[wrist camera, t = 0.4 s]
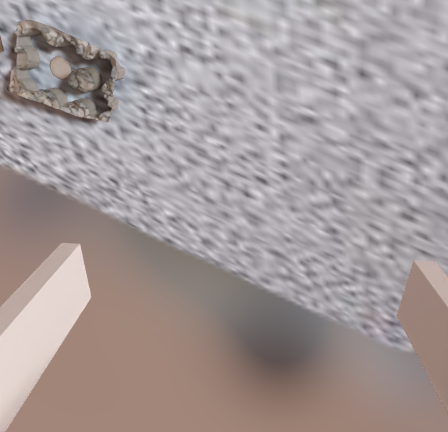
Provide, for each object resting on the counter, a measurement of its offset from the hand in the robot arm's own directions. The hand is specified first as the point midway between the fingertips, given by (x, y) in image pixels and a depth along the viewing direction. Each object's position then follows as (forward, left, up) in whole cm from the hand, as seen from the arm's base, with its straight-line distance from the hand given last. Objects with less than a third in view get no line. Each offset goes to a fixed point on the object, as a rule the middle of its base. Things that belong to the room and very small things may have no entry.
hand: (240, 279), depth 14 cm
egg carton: (-5, -19, -28) cm, 34 cm away
